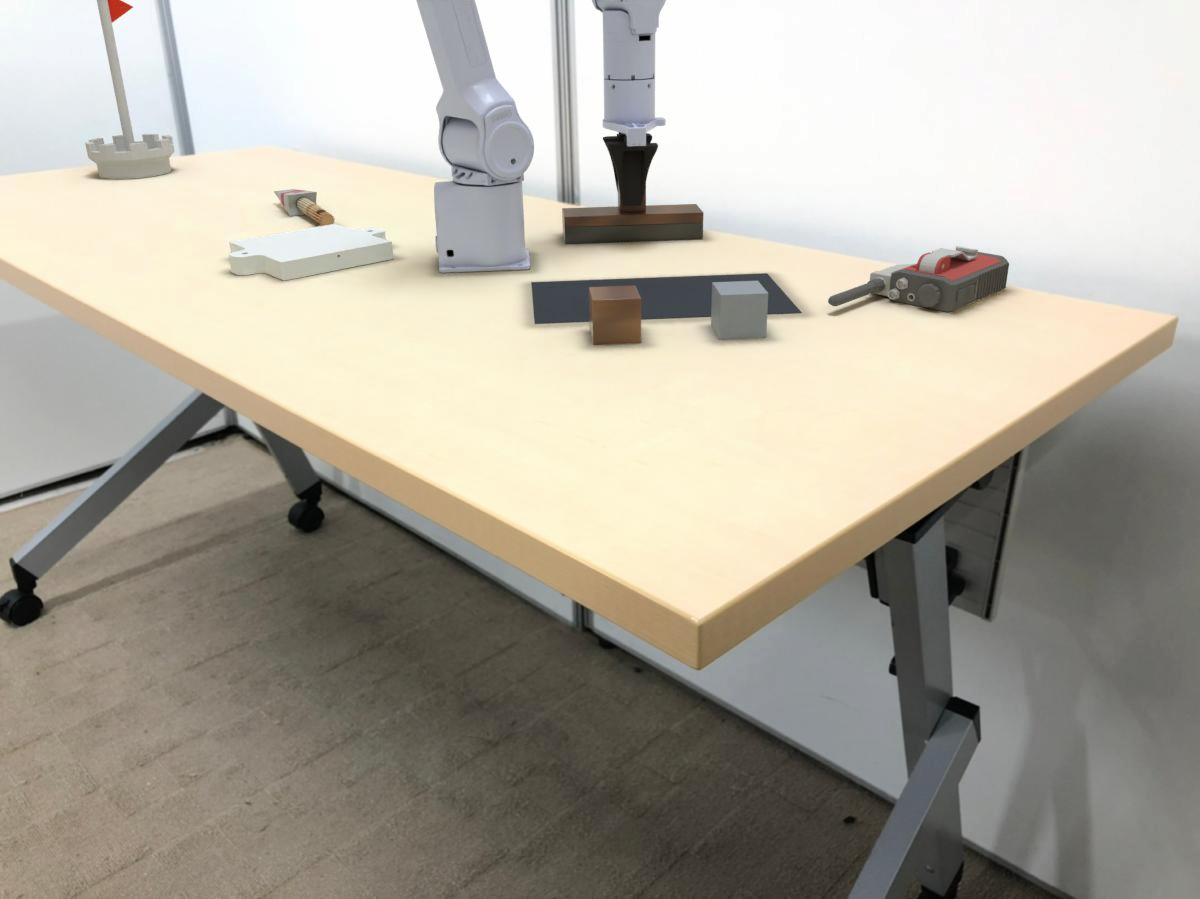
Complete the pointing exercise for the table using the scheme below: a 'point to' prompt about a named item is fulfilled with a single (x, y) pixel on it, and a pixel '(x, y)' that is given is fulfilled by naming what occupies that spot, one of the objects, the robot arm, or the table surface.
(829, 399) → the table surface
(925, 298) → the walkie-talkie
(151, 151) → the flag stand
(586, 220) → the board eraser
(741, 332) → the block slate
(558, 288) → the mat
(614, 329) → the block brown
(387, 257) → the mounting plate
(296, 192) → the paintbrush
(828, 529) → the table surface
